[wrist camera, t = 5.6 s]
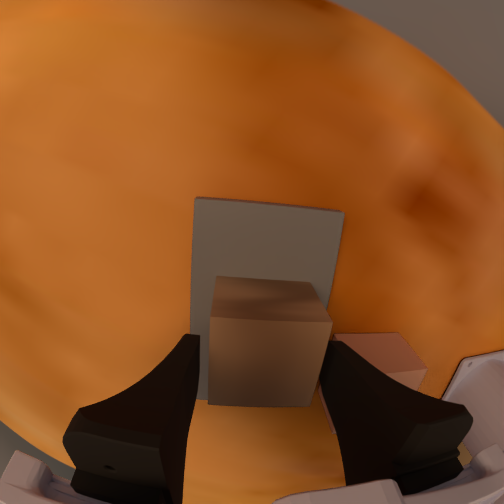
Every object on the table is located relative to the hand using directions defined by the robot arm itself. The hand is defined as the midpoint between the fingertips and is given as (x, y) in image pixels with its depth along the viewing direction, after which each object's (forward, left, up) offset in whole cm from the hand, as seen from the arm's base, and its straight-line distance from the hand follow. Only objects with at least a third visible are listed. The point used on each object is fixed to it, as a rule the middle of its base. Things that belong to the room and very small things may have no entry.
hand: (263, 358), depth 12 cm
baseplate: (0, 0, -4) cm, 4 cm away
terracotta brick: (-7, +4, -4) cm, 9 cm away
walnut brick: (0, 0, -3) cm, 3 cm away
